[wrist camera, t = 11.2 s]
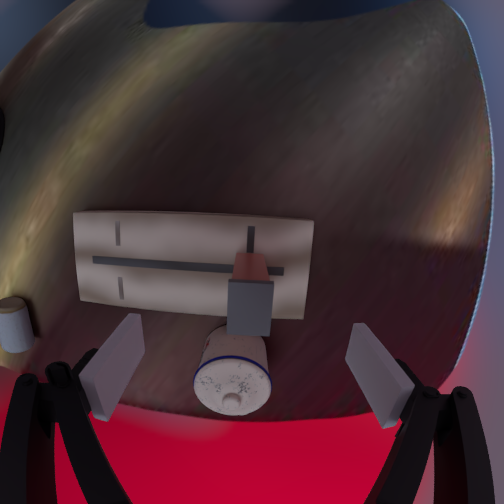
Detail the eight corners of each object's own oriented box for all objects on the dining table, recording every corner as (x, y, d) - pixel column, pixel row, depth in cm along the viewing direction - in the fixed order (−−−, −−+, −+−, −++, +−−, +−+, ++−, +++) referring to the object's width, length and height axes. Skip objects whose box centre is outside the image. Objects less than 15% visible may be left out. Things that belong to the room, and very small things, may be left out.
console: (84, 210, 33) (72, 212, 30) (308, 218, 34) (314, 221, 30) (90, 292, 35) (80, 300, 32) (298, 309, 36) (303, 319, 33)
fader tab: (234, 250, 31) (228, 282, 20) (265, 252, 31) (274, 284, 20) (232, 288, 32) (226, 334, 21) (262, 289, 32) (269, 336, 21)
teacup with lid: (196, 325, 36) (178, 377, 25) (262, 316, 36) (268, 367, 25) (215, 390, 39) (207, 446, 28) (273, 383, 39) (281, 439, 27)
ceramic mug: (32, 298, 35) (5, 314, 28) (42, 339, 37) (18, 358, 30) (1, 289, 35) (-25, 302, 28) (10, 327, 37) (-13, 343, 30)
